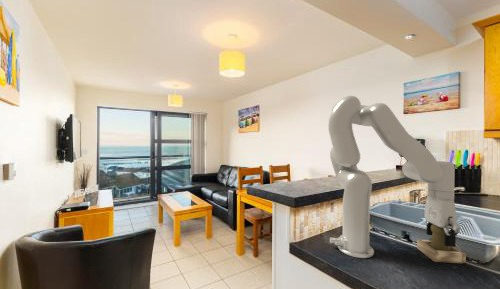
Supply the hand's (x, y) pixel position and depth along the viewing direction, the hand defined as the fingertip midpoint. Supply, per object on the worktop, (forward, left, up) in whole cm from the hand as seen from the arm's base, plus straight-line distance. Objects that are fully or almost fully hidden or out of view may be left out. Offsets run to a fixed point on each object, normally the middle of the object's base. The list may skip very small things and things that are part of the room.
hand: (440, 240), depth 84 cm
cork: (0, 0, -5) cm, 5 cm away
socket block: (0, 0, -6) cm, 6 cm away
